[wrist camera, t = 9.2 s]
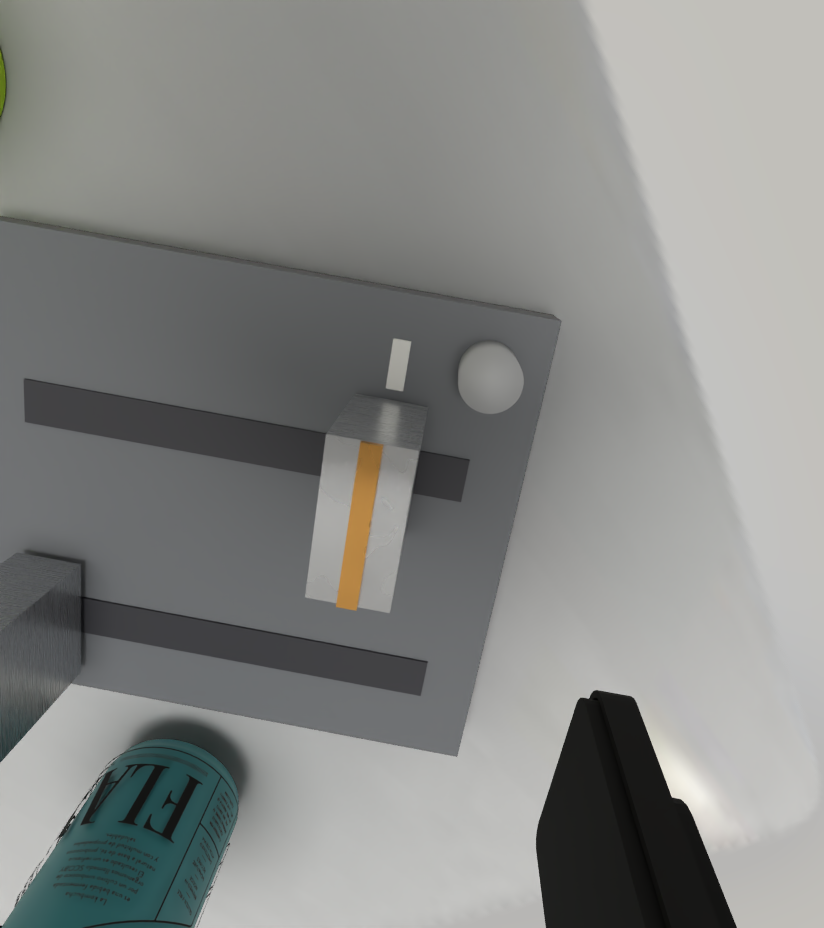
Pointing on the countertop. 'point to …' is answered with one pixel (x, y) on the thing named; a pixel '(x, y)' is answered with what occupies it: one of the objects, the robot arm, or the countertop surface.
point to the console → (256, 474)
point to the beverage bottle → (138, 845)
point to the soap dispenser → (2, 83)
